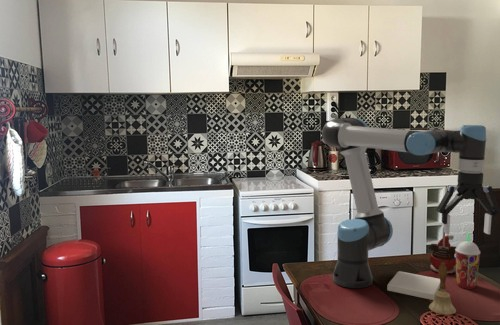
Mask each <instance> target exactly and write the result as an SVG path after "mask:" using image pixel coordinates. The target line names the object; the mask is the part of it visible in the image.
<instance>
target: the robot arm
mask: <svg viewBox="0 0 500 325" xmlns="http://www.w3.org/2000/svg"><path fill="white" fill-rule="evenodd" d="M321 137H322V140H323V141H324V143H325V144H326V145H327V146H328V147H331V148H338V150H339V151H338V152H339V154H341V155H342V156H343V157H344V161H345V166H346V169H347V174H348V178H349V182H350V187H351V190H352V195H353V199H354V204H355V208H356V214H355V215H354V218H352V219H345V220H342V221H341V222H339V224H338V226H337V233H336V234H337V235H336V236H337V261H336V264H335V267H334V269H333V272H332V273H333V274H332V281H333V282H334V283H335V285H338V286H340V287H344V288H348V289H363V288H367V287H370V286H371V285H372V284H373V278H374V277H373V274H372V270H371V268H370V264H369V251H371V250H374V249H376V248H379V247H383V246H384V245H385V244H387V243H388V242H390V240H391V239H392V237H393V234H394V232H393V231H394V229H393V225H392V222H391V221H390V219H388V218H387V217H386V216H385V215H384V211H382V210H381V209H379V206H378V201H377V197H376V192H375V187H374V184H373V180H372V175H371V172H370V167H369V162H368V159H367V155H366V151H367V149H377V150H384V151H386V150H387V151H395V152H403V153H409V154H412V155H415V156H426V155H430V154H431V155H432V154H437V153H455V154H456V153H458V154H459V156H458V167H457V168H458V170H459V171H458V172H457V185H456V186H455V185H454V186H453V185H452V184H449V185H447V188H446V192H445V193H444V195H443V197H442V199H441V201H440V202H439V204H438V206H437V207H436V212H438V213H439V214H441V224H443V228H444V232H445V235H450V230H451V229H450V227H451V226H450V225H451V214H450V213H451V212H452V211H453V209H455V207H456V206H457V205H458V204H459V203H460V202H461V201H463V200H477V202H479V204H480V205H481V206H482V207H483V209H484V210H485V211H486V213H484V225H483V233H484V234H486V235H491V228H492V225H494V222H495V221H494V220H495V216H497V214H500V206H499V204H498V202H497V199H496V197H495V196H494V193H493V186H490V185H488V184H486V185H483V183H484V173H483V172H484V169H485V155H486V154H485V153H486V142H487V127H486V126H485V125H483V124H482V125H481V124H480V125H479V124H478V125H477V124H463V125H461V127H460V130H459V129H458V130H452V129H451V130H449V129H437V128H436V129H427V130H425V131H424V130H406V129H395V128H385V127H370V126H368V124H367V123H366V122H365V121H364V120H362V119H360V118H356V117H355V118H354V117H347V118H333V119H330V120H328V121H327V122H326V123H325V124H324V126H323V127H322V130H321ZM455 192H457V193H456V194H455V195H454V193H455ZM482 192H484V193H485V195H486V198H487V200H488V202H489V203H488V202H487V201H486V200H485V199H484V197H483V195H482ZM453 195H454V197H453ZM452 197H453V198H452ZM450 200H451V201H450Z"/></svg>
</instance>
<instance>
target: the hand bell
mask: <svg viewBox="0 0 500 325" xmlns="http://www.w3.org/2000/svg"><path fill="white" fill-rule="evenodd" d="M438 277H439V278H438V279H440V289H439V291H437V292H436V293H435V298H434V300H432V302H431V303H430V304H429V305H428V309H429V310H430V311H431V312H433V313H436V314H440V315H444V316H445V315H446V316H451V315H454V314H456V313H457V309H456V307H455V306H454V305H453V303H452V300H451V294H450V293H449V292H447V291H446V290H447V289H446V281H447V277H448V273H447V268H446V265H445V263H444V262H441V265H440V267H439V272H438Z"/></svg>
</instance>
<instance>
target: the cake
mask: <svg viewBox="0 0 500 325" xmlns="http://www.w3.org/2000/svg"><path fill="white" fill-rule="evenodd" d="M442 229H443V230H442V238H441V239H439V241H438V243H431V244H429V247H428V248H429V250H430V251H431V252H432V253H431V254H430V259H429V260H430V263H431V264H430V266H429V268H430V269H431V270H432V271H434V272H437V273H439V267H440V265H441V262H444V263H445V265H446V268H447V274H453V273H456V253H455V252H456V251H455V249H456V248H457V246H453V245H451V242H450V241H451V240H452V241H453V240H454V236H455V235H453V234H446V233H445V232H444V227H443V228H442Z"/></svg>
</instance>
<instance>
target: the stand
mask: <svg viewBox="0 0 500 325" xmlns="http://www.w3.org/2000/svg"><path fill="white" fill-rule="evenodd" d="M386 289H387V290H386V291H389V292H393V293H399V294H403V295H408V296H413V297H417V298H421V299H427V300H431V301H434V298H435V293H436V292H437V291H440V278H436V277H433V276H426V275H421V274H416V273H410V272H405V271H400V270H399V271H397V272H396V273H395V275H394V276H393V278H391V279H390V280H389V282H388V284H387V287H386Z"/></svg>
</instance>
